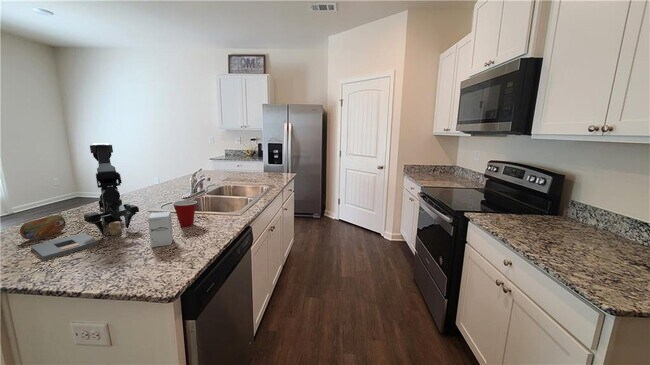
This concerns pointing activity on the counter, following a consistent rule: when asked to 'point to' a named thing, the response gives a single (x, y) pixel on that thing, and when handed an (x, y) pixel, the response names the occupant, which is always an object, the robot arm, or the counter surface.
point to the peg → (115, 228)
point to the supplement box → (160, 229)
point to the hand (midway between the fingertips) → (115, 231)
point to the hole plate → (52, 250)
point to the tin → (42, 227)
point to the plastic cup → (185, 212)
